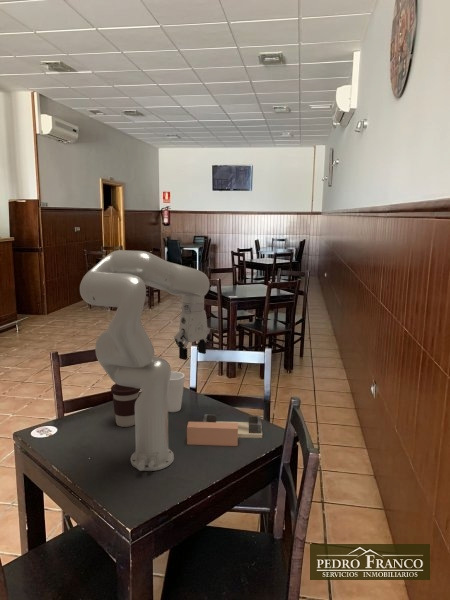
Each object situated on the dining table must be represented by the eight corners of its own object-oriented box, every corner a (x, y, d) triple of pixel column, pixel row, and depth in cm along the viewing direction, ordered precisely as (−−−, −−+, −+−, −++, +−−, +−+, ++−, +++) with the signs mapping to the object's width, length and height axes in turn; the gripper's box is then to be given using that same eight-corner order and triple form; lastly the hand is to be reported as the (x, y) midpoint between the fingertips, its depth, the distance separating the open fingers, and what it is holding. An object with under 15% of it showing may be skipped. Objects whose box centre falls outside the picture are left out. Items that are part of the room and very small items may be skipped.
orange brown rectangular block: (237, 446, 140) (237, 428, 139) (187, 444, 141) (186, 427, 140) (237, 440, 144) (237, 423, 143) (188, 438, 144) (188, 421, 143)
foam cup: (189, 407, 169) (189, 374, 167) (174, 415, 161) (174, 381, 159) (170, 401, 174) (169, 370, 172) (154, 410, 166) (154, 376, 164)
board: (262, 438, 145) (262, 426, 144) (201, 436, 146) (201, 424, 145) (261, 425, 154) (261, 414, 153) (203, 424, 155) (203, 412, 154)
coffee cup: (125, 432, 148) (123, 389, 146) (106, 423, 154) (104, 382, 152) (147, 421, 156) (146, 381, 154) (128, 414, 162) (127, 375, 159)
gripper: (184, 312, 142) (183, 363, 144) (217, 305, 155) (216, 352, 158) (167, 309, 146) (167, 359, 149) (201, 303, 160) (200, 349, 163)
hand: (192, 356), depth 153 cm, fingers open, 9 cm apart
